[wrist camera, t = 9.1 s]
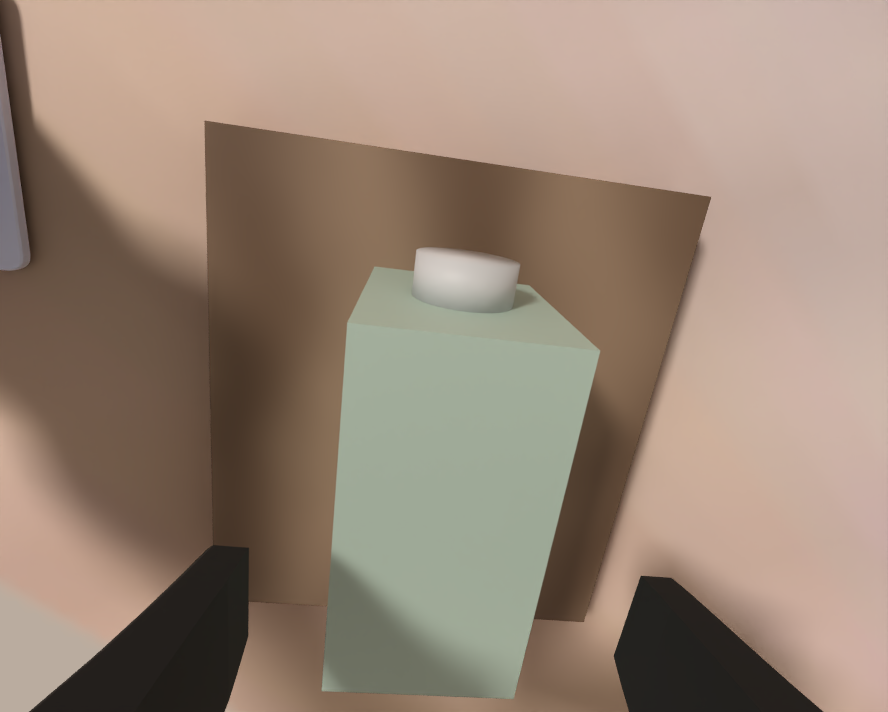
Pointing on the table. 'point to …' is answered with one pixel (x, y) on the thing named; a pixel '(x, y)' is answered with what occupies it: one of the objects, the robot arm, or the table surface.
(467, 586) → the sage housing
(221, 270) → the walnut stand
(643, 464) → the table surface
